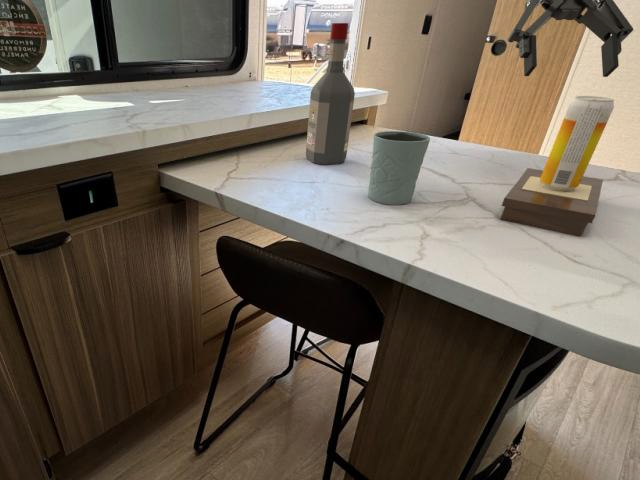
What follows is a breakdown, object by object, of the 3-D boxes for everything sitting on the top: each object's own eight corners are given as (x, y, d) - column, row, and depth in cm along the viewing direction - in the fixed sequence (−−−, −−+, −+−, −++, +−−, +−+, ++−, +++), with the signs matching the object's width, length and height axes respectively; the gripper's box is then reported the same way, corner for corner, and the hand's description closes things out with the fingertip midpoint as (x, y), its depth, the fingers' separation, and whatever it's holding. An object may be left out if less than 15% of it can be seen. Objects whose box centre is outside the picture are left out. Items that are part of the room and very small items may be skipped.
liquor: (316, 165, 104) (329, 22, 88) (302, 156, 112) (313, 23, 95) (349, 163, 106) (368, 22, 90) (333, 154, 114) (349, 23, 97)
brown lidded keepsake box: (520, 186, 90) (527, 167, 88) (593, 199, 84) (603, 178, 81) (496, 219, 75) (504, 196, 72) (584, 238, 68) (596, 214, 66)
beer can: (573, 184, 78) (612, 96, 70) (579, 194, 73) (622, 101, 65) (535, 180, 80) (569, 94, 72) (540, 189, 76) (576, 99, 67)
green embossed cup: (366, 204, 81) (377, 140, 74) (361, 188, 89) (370, 129, 83) (420, 207, 80) (436, 142, 73) (410, 190, 88) (423, 130, 82)
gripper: (621, -9, 82) (628, 86, 79) (488, -7, 85) (488, 84, 82) (654, -47, 75) (663, 56, 71) (507, -43, 78) (508, 55, 74)
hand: (570, 71), depth 76 cm, fingers open, 13 cm apart
